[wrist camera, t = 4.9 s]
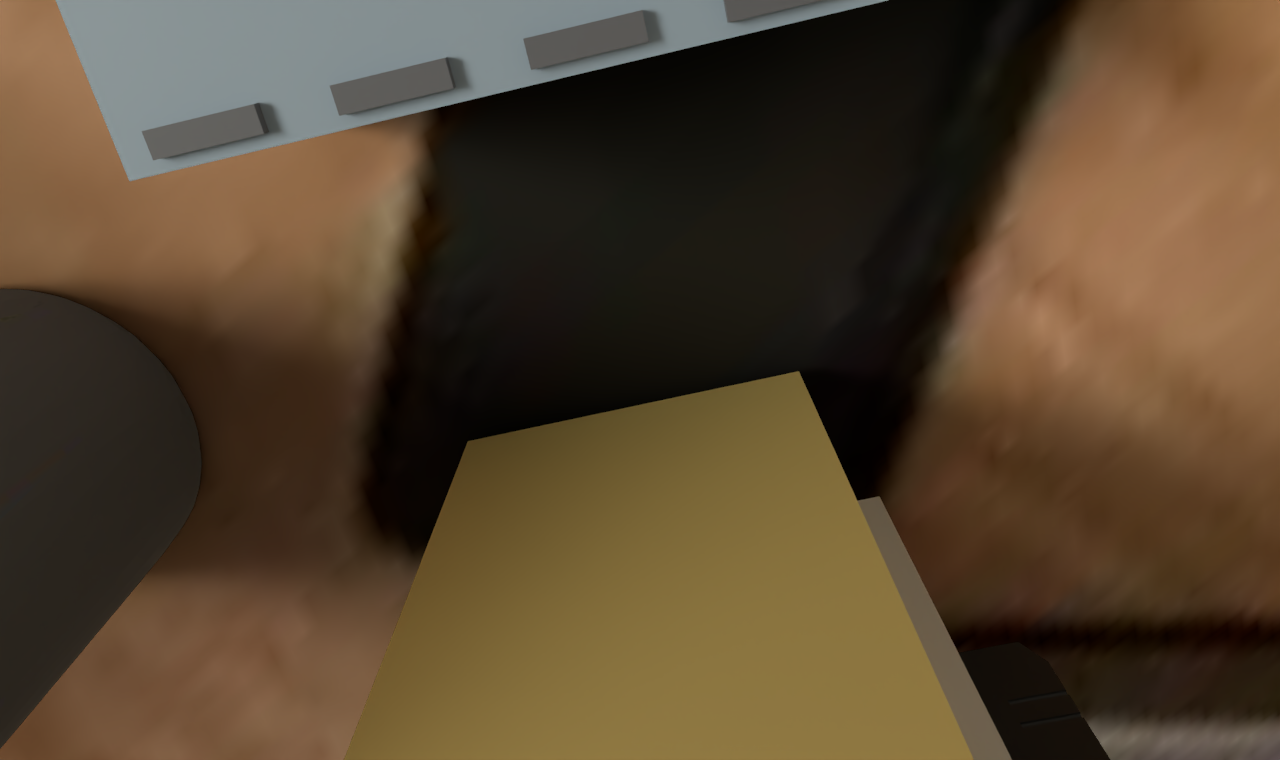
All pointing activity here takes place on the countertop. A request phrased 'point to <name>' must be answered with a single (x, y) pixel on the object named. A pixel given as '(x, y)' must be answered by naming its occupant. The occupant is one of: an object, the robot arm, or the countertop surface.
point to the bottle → (79, 483)
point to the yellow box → (657, 600)
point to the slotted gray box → (358, 60)
